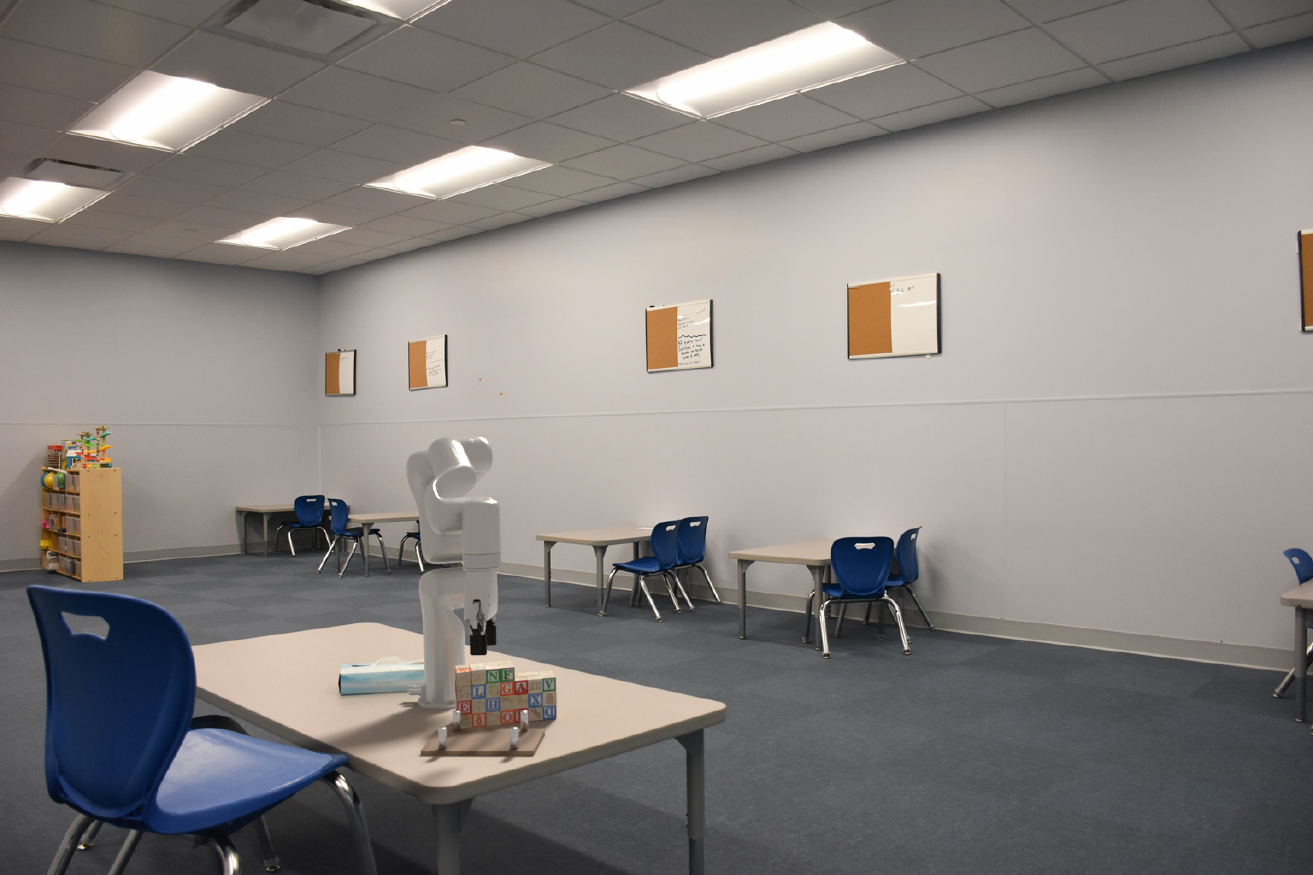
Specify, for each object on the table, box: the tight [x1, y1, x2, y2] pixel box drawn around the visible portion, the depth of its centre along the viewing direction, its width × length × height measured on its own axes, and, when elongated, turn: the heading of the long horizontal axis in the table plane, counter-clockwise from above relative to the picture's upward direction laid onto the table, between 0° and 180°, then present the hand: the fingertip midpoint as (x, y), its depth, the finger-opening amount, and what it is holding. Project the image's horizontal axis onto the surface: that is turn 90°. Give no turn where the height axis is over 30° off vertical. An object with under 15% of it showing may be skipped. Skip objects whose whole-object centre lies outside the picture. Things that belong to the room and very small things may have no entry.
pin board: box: [420, 709, 546, 757], centre depth 183 cm, size 22×13×6 cm, turn 88°
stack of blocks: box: [455, 660, 558, 729], centre depth 201 cm, size 21×6×12 cm, turn 106°
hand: (483, 649), depth 183 cm, fingers open, 7 cm apart
